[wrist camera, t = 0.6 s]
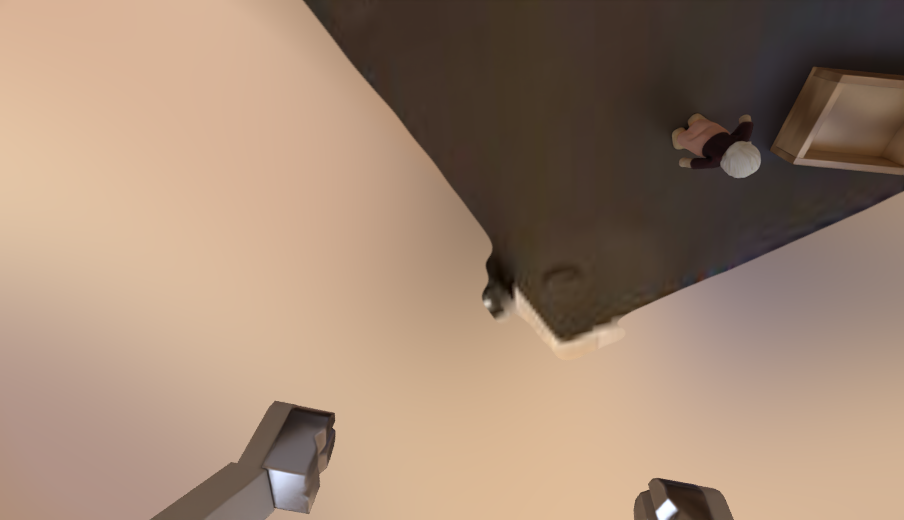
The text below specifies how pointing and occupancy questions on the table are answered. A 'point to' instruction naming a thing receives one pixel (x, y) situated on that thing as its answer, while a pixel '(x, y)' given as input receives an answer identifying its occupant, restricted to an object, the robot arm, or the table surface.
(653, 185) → the table surface
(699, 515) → the robot arm
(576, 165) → the table surface
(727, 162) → the grandmother figurine
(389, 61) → the table surface
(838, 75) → the holder
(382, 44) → the table surface
